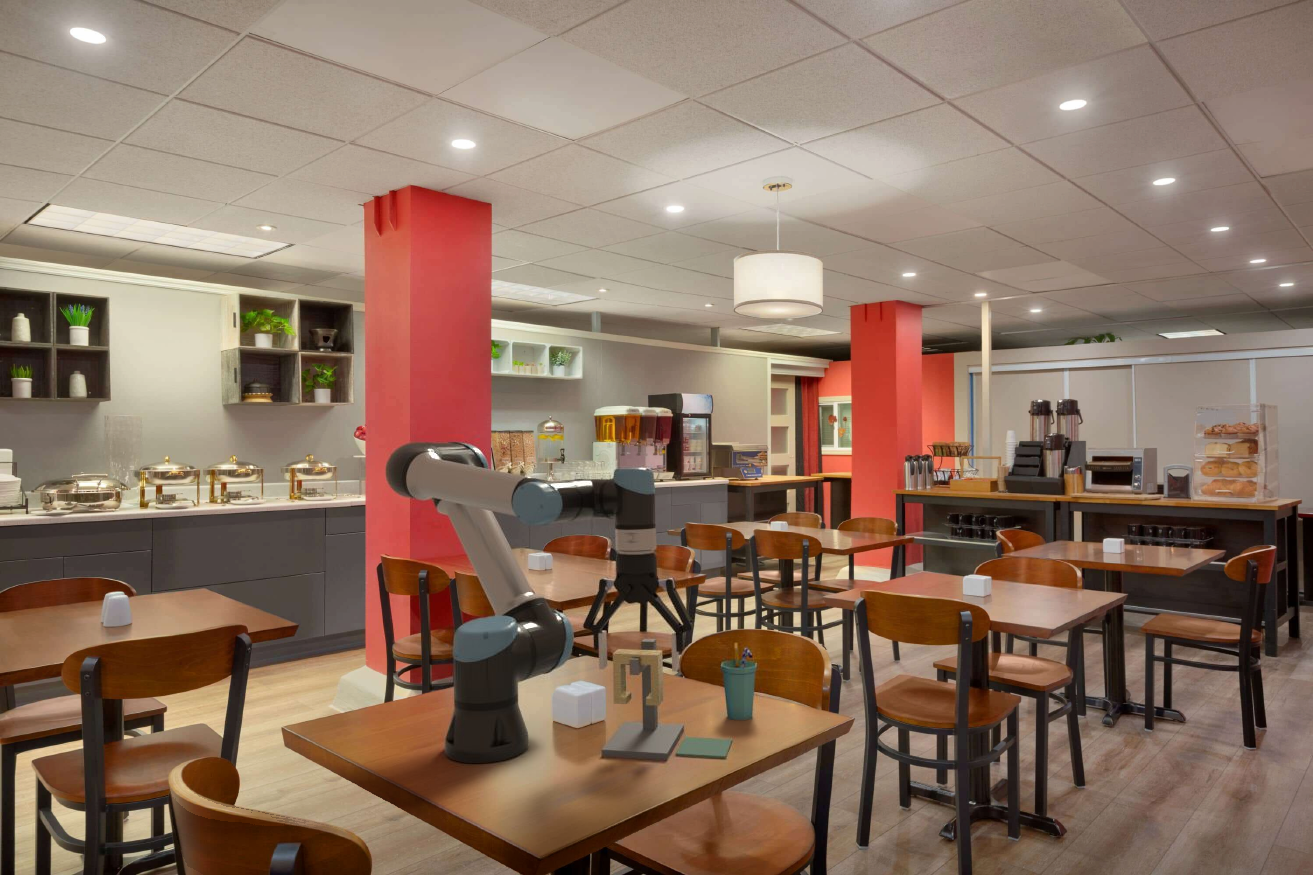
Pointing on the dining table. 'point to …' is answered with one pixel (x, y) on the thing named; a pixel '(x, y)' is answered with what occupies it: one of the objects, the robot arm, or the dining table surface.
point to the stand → (644, 724)
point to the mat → (704, 747)
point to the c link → (645, 658)
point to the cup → (739, 685)
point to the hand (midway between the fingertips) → (639, 668)
